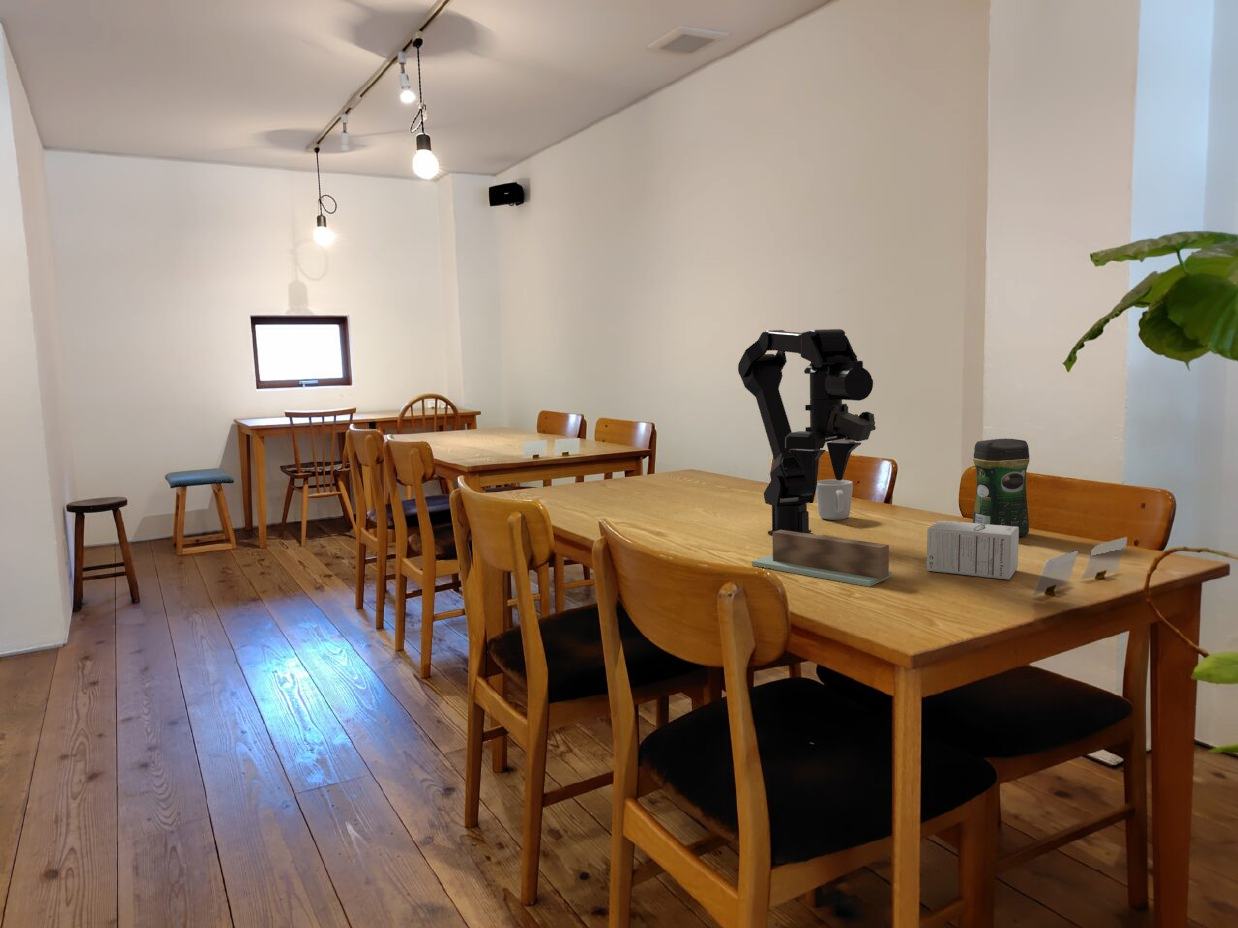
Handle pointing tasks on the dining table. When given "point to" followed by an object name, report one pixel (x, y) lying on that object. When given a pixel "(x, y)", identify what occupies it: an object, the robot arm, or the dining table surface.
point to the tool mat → (816, 572)
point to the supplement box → (973, 549)
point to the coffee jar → (1001, 483)
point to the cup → (834, 498)
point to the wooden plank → (831, 553)
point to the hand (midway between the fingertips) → (826, 483)
